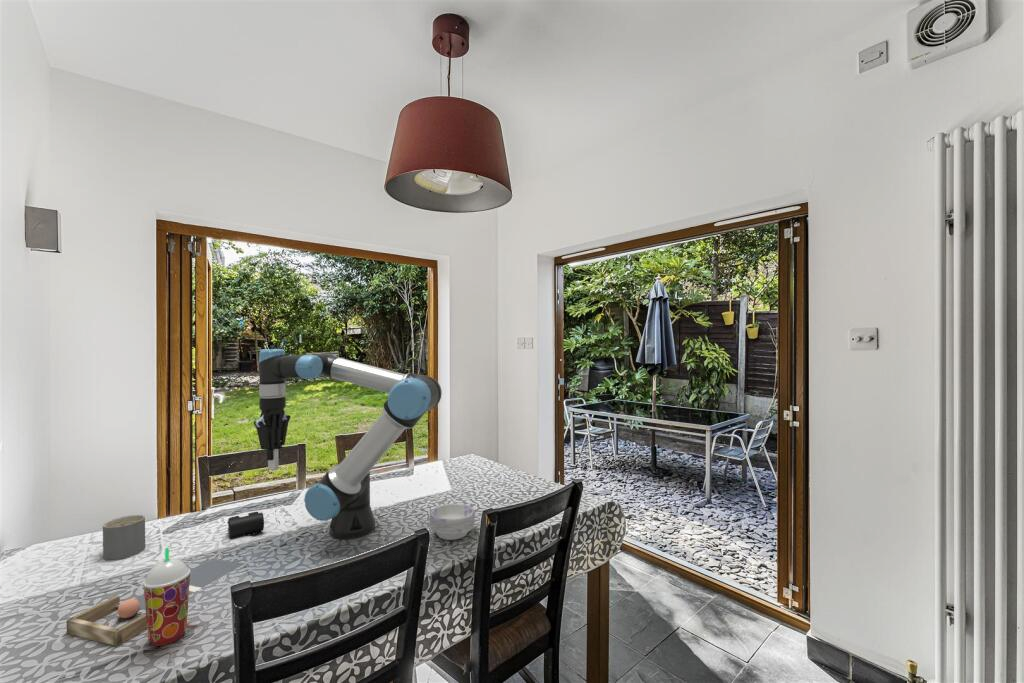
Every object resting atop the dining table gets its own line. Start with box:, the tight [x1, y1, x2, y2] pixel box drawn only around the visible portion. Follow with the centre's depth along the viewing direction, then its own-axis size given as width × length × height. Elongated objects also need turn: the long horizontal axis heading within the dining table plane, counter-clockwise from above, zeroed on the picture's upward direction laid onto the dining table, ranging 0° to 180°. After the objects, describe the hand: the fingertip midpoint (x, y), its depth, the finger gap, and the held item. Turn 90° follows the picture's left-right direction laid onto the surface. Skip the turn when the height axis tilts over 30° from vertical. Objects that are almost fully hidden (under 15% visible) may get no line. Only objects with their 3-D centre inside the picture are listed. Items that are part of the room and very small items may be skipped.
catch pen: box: [66, 595, 148, 647], centre depth 103 cm, size 16×10×3 cm, turn 74°
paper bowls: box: [429, 503, 476, 541], centre depth 149 cm, size 15×15×8 cm
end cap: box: [227, 511, 265, 539], centre depth 150 cm, size 10×7×7 cm
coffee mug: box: [102, 514, 146, 561], centre depth 140 cm, size 13×10×10 cm
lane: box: [134, 557, 245, 615], centre depth 119 cm, size 12×24×1 cm, turn 164°
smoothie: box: [142, 547, 191, 647], centre depth 98 cm, size 8×8×20 cm
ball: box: [117, 598, 140, 619], centre depth 106 cm, size 4×4×4 cm
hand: (273, 469), depth 143 cm, fingers closed
